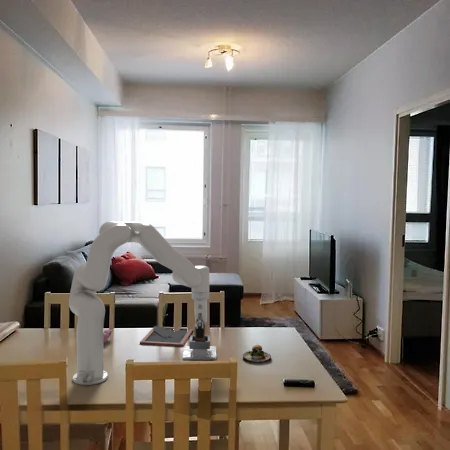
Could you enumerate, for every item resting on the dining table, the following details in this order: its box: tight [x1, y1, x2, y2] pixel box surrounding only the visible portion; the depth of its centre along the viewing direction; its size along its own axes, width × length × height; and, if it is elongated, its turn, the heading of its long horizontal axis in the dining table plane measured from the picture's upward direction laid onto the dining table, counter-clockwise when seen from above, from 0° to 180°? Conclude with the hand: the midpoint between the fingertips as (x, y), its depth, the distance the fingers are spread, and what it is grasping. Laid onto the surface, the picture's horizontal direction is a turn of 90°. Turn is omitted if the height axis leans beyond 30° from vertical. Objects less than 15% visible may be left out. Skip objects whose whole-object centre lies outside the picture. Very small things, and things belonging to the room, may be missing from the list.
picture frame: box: [139, 325, 193, 348], centre depth 229 cm, size 20×2×25 cm
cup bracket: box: [182, 334, 217, 361], centre depth 206 cm, size 14×14×7 cm
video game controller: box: [103, 329, 113, 345], centre depth 220 cm, size 10×5×7 cm, turn 179°
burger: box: [242, 344, 272, 363], centre depth 201 cm, size 12×12×8 cm
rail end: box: [194, 323, 206, 341], centre depth 206 cm, size 4×4×8 cm
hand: (200, 334), depth 206 cm, fingers open, 9 cm apart
